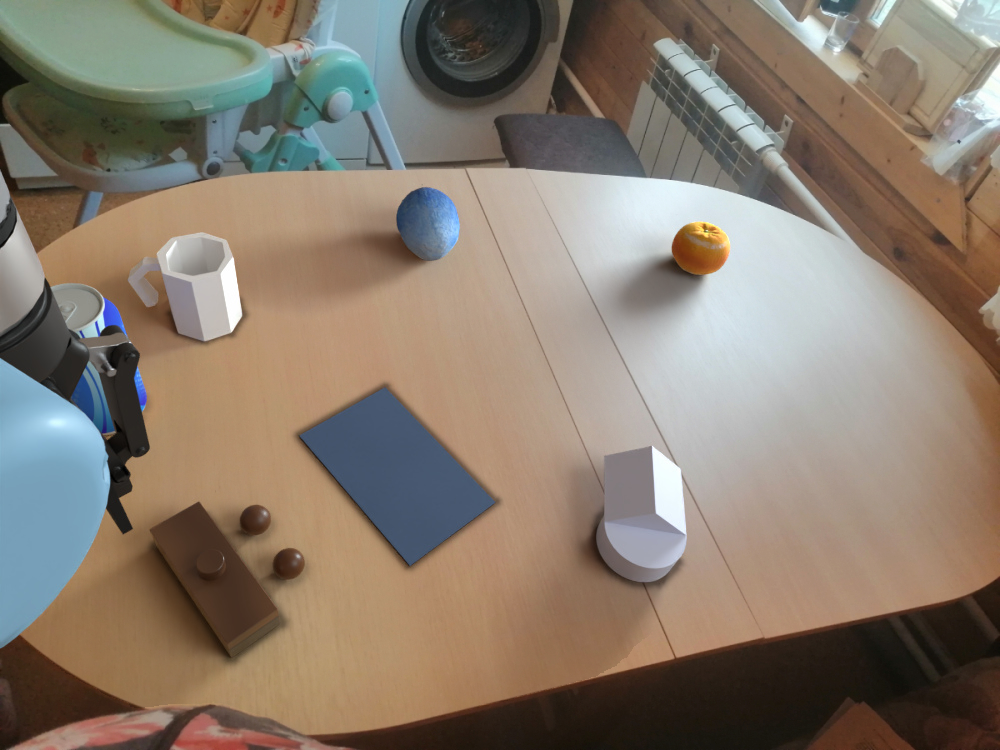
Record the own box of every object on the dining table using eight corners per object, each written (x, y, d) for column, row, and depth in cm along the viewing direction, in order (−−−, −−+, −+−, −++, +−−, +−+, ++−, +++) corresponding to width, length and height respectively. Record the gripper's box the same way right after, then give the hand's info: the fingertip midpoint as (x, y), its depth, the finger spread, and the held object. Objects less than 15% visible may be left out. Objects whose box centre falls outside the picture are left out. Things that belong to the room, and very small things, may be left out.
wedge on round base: (596, 471, 85) (596, 574, 76) (612, 438, 80) (613, 545, 71) (670, 484, 85) (678, 588, 77) (691, 452, 80) (702, 560, 72)
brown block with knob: (231, 658, 65) (224, 638, 61) (156, 546, 71) (145, 521, 67) (280, 623, 68) (276, 602, 64) (204, 518, 73) (196, 492, 69)
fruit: (708, 221, 115) (717, 202, 107) (734, 267, 113) (745, 251, 105) (660, 244, 115) (665, 227, 107) (685, 291, 114) (692, 277, 106)
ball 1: (251, 546, 72) (248, 532, 70) (235, 524, 73) (232, 510, 71) (277, 529, 74) (275, 515, 72) (262, 508, 75) (259, 494, 73)
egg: (440, 151, 104) (453, 220, 95) (458, 195, 111) (472, 264, 102) (383, 169, 105) (391, 240, 96) (405, 212, 112) (413, 282, 103)
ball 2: (284, 591, 70) (282, 577, 68) (267, 568, 71) (265, 554, 69) (311, 572, 71) (310, 559, 69) (294, 550, 73) (292, 536, 70)
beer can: (51, 403, 79) (-3, 297, 67) (127, 369, 83) (90, 265, 71) (85, 454, 76) (35, 354, 64) (163, 416, 80) (130, 315, 68)
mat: (409, 566, 74) (409, 565, 73) (299, 436, 81) (299, 435, 81) (495, 502, 80) (495, 502, 80) (385, 387, 88) (385, 387, 88)
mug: (245, 292, 94) (236, 233, 86) (238, 342, 88) (228, 283, 81) (146, 290, 91) (128, 228, 84) (132, 340, 86) (112, 279, 79)
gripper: (98, 200, 40) (175, 442, 57) (-291, 321, 31) (-59, 562, 49) (166, 279, 37) (224, 508, 54) (-243, 437, 28) (-15, 649, 46)
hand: (90, 533), depth 52 cm, fingers open, 3 cm apart
